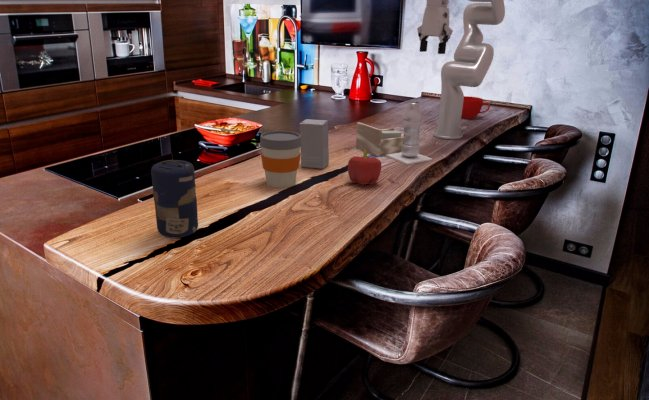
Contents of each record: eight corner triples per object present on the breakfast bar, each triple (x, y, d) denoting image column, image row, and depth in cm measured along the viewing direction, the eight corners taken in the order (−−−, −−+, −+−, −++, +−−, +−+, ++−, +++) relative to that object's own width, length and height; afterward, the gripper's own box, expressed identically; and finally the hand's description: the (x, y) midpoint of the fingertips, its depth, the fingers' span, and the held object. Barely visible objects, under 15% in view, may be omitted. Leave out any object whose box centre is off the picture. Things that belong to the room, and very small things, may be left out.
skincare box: (328, 164, 172) (330, 119, 166) (322, 170, 165) (323, 124, 160) (306, 161, 174) (306, 117, 168) (298, 167, 168) (299, 121, 162)
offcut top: (379, 136, 193) (379, 130, 192) (397, 136, 195) (397, 130, 194) (382, 139, 190) (383, 133, 189) (401, 138, 191) (401, 132, 190)
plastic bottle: (418, 159, 178) (423, 104, 171) (399, 158, 179) (404, 103, 172) (418, 155, 184) (424, 101, 176) (400, 153, 185) (405, 100, 178)
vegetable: (347, 176, 160) (348, 146, 157) (378, 177, 160) (380, 147, 156) (347, 188, 150) (348, 156, 146) (381, 189, 150) (383, 157, 146)
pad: (410, 152, 189) (410, 150, 189) (432, 160, 180) (432, 158, 180) (385, 156, 183) (385, 154, 183) (407, 164, 174) (407, 163, 174)
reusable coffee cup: (285, 192, 145) (285, 143, 139) (252, 184, 151) (250, 136, 145) (309, 181, 155) (309, 134, 149) (277, 173, 161) (276, 128, 155)
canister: (181, 220, 124) (175, 152, 118) (207, 230, 119) (202, 159, 113) (149, 233, 117) (140, 161, 110) (175, 244, 112) (168, 169, 105)
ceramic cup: (484, 123, 242) (486, 102, 239) (450, 118, 251) (453, 98, 247) (491, 118, 253) (494, 99, 249) (459, 114, 261) (461, 95, 257)
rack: (393, 142, 203) (395, 118, 199) (416, 150, 192) (418, 125, 188) (355, 147, 194) (357, 122, 190) (377, 156, 183) (379, 130, 179)
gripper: (462, 4, 173) (456, 54, 179) (428, 3, 187) (423, 50, 193) (446, 3, 169) (441, 55, 176) (413, 3, 183) (409, 50, 189)
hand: (432, 52), depth 184 cm, fingers open, 9 cm apart
